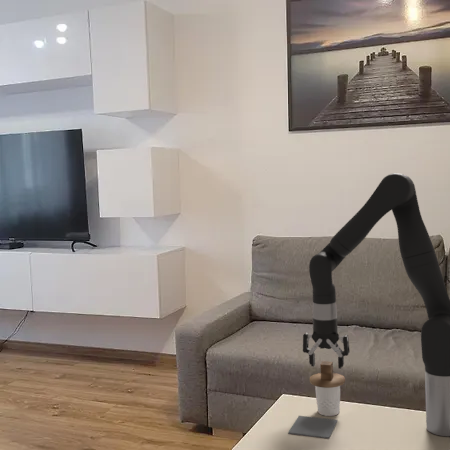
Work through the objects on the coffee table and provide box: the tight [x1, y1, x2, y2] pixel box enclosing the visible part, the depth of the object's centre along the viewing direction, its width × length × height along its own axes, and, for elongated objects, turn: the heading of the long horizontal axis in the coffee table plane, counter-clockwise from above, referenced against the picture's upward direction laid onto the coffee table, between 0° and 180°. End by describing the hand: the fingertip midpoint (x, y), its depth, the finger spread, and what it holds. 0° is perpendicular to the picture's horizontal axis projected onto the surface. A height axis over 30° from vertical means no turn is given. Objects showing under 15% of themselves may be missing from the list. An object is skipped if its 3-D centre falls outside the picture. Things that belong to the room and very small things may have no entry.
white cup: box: [314, 386, 341, 417], centre depth 183 cm, size 8×8×10 cm
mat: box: [287, 415, 339, 439], centre depth 173 cm, size 12×12×1 cm
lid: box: [309, 360, 346, 388], centre depth 183 cm, size 11×11×6 cm
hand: (326, 366), depth 183 cm, fingers open, 8 cm apart
